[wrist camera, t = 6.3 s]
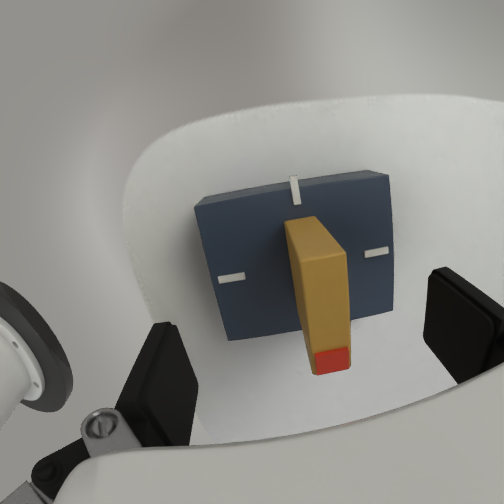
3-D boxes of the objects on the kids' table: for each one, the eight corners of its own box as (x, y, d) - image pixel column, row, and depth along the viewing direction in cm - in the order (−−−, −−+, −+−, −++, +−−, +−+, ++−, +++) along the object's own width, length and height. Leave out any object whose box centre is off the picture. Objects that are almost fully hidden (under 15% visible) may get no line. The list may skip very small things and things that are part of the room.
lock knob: (283, 220, 15) (299, 263, 9) (315, 215, 15) (348, 254, 9) (297, 309, 16) (313, 379, 11) (325, 303, 16) (352, 371, 11)
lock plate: (233, 323, 20) (230, 351, 17) (201, 187, 17) (190, 195, 14) (376, 296, 20) (393, 320, 17) (367, 160, 17) (389, 163, 14)
